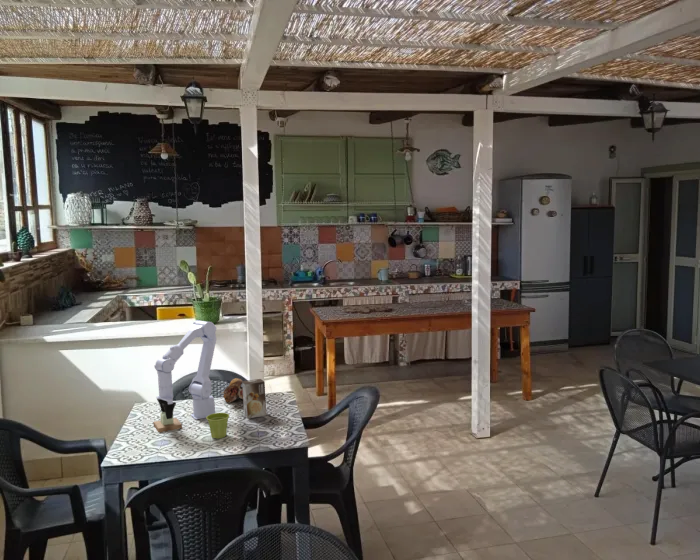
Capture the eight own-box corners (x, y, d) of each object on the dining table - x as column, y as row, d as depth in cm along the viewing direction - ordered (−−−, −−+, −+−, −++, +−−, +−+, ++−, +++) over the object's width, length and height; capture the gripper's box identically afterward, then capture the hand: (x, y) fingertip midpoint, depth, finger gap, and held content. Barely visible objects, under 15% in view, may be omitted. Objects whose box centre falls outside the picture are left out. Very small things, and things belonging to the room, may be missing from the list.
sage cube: (170, 420, 271) (170, 410, 271) (173, 423, 268) (173, 413, 267) (160, 422, 269) (160, 412, 269) (163, 425, 265) (162, 415, 265)
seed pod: (212, 393, 295) (241, 383, 295) (214, 378, 310) (242, 368, 310) (222, 415, 299) (251, 405, 300) (224, 399, 314) (251, 389, 315)
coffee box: (262, 411, 287) (261, 378, 285) (266, 415, 281) (265, 381, 279) (243, 414, 283) (242, 380, 281) (247, 418, 277) (245, 384, 275)
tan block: (176, 423, 275) (176, 417, 275) (182, 429, 267) (181, 424, 266) (153, 427, 270) (153, 421, 270) (158, 434, 262) (158, 428, 262)
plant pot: (210, 442, 249) (209, 421, 248) (204, 435, 258) (203, 415, 257) (233, 437, 254) (232, 417, 253) (226, 431, 262) (225, 411, 261)
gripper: (152, 383, 271) (153, 413, 272) (160, 391, 258) (161, 422, 260) (168, 381, 274) (169, 410, 276) (176, 388, 262) (178, 419, 263)
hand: (167, 416), depth 268 cm, fingers open, 7 cm apart
